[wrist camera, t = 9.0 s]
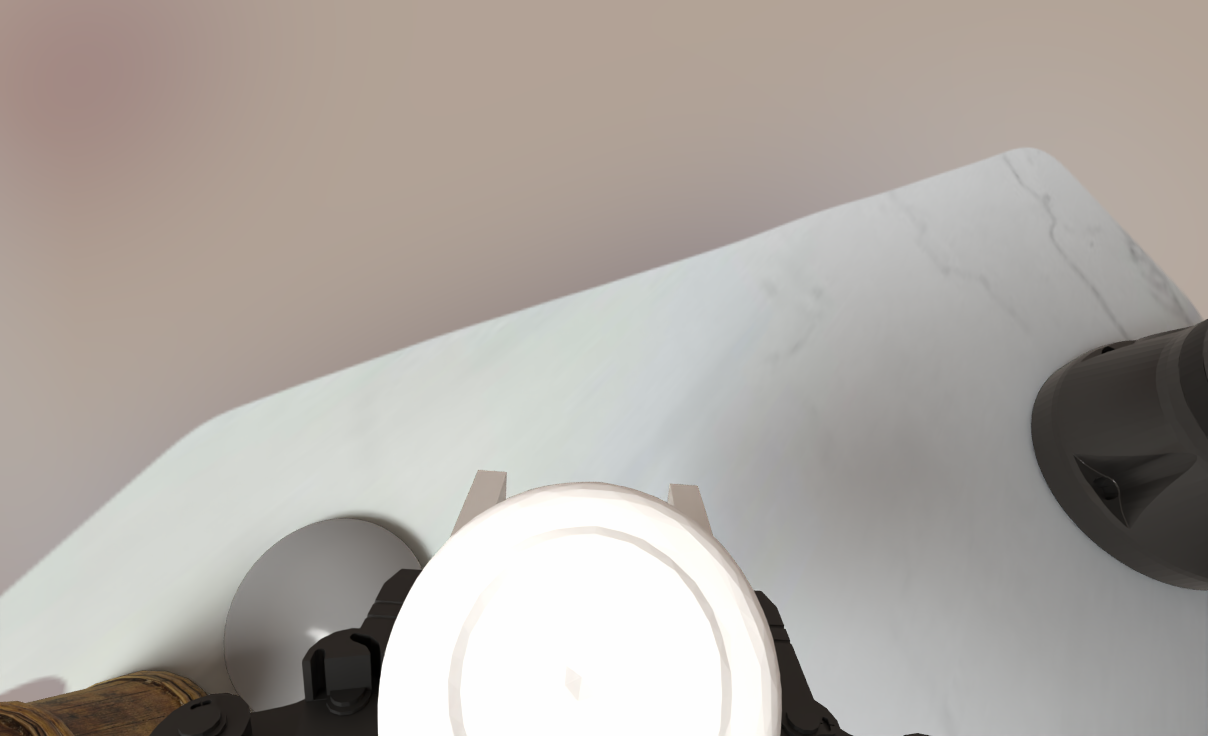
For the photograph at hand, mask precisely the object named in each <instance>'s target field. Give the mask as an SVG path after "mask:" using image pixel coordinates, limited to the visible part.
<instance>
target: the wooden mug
mask: <svg viewBox="0 0 1208 736" xmlns="http://www.w3.org/2000/svg"><path fill="white" fill-rule="evenodd" d="M204 696H207V694H206V693H205V692H204V691H203V690H202V689H201V688H199V687H198V686H197V685H196V684H194V683H193V682H192V681H191V680H189V679H188V678H185V677H182V676H179V675H176V674H173V673H170V672H167V671H139V672H135V673H132V674H128V675H124V676H120V677H117V678H113V679H110V680H107V681H103V682H100V683H97V684H94V685H92V686H90V687H88V688H86V689H83V690H79V691H74V692H70V693H66V694H62V695H58V696H54V697H49V698H45V699H41V700H37V701H33V702H28V703H23V702H19V701H11V702H0V736H149V735H150V734H151V733H152V731H153V730H154V729H155V728H156V727H157V725H158V724H159V723H161V722H162V721H163V720H164V719H165V718H166V717H167V716H168V715H169V714H170V713H171V712H172V711H174V710H176V709H177V708H179V707H181V706H183V705H184V704H186V703H188V702H189V701H191V700H194V699H198V698H201V697H204Z"/></svg>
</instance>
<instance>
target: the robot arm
mask: <svg viewBox="0 0 1208 736" xmlns="http://www.w3.org/2000/svg"><path fill="white" fill-rule="evenodd" d="M1031 428H1032V440H1033V446H1034V450H1035V454H1036V458H1037V461H1038V464H1039V467H1040V469H1041V472H1042V474H1043V476H1044V478H1045V480H1046V482H1047V484H1048V486H1049V488H1050V490H1051V491H1052V493H1053V495H1054V496H1055V498H1056V499H1057V501H1058V502H1059V504H1060V505H1061V507H1062V508H1063V509H1064V511H1065V512H1066V513H1067V514H1068V516H1069V517H1070V518H1071V519H1072V520H1073V521H1074V523H1075V524H1076V525H1077V526H1078V527H1079V528H1080V529H1081V530H1082V531H1083V532H1084V533H1085V534H1086V535H1087V536H1088V537H1089V538H1090V539H1091V540H1092V541H1094V542H1095V543H1096V544H1097V545H1098V546H1099V547H1101V548H1102V549H1103V550H1104V551H1106V552H1107V553H1109V554H1110V555H1111V556H1113V557H1114V558H1116V559H1117V560H1119V561H1120V562H1122V563H1123V564H1125V565H1127V566H1128V567H1130V568H1132V569H1134V570H1136V571H1138V572H1140V573H1141V574H1144V575H1146V576H1148V577H1150V578H1153V579H1155V580H1158V581H1161V582H1163V583H1167V584H1170V585H1173V586H1178V587H1182V588H1187V589H1194V590H1208V319H1207V320H1205V321H1203V322H1201V323H1199V324H1197V325H1195V326H1191V327H1186V328H1182V329H1177V330H1172V331H1168V332H1163V333H1159V334H1155V335H1151V336H1147V337H1144V338H1141V339H1138V340H1133V341H1123V342H1117V343H1112V344H1108V345H1105V346H1101V347H1099V348H1096V349H1094V350H1091V351H1089V352H1087V353H1085V354H1083V355H1081V356H1080V357H1078V358H1077V359H1075V360H1073V361H1072V362H1070V363H1068V364H1067V365H1065V366H1064V367H1062V368H1060V369H1059V370H1057V371H1056V372H1055V373H1054V374H1053V375H1052V376H1050V377H1049V378H1048V380H1047V381H1046V382H1045V383H1044V385H1043V386H1042V388H1041V389H1040V391H1039V393H1038V395H1037V398H1036V400H1035V404H1034V407H1033V413H1032V422H1031ZM506 478H507V472H498V471H484V470H478V472H477V474H476V476H475V479H474V481H473V484H472V486H471V488H470V491H469V493H468V495H467V498H466V500H465V503H464V505H463V507H462V510H461V512H460V514H459V517H458V519H457V522H456V524H455V526H454V529H453V531H452V534H451V536H452V535H454V534H455V533H456V532H457V531H458V530H459V529H461V528H462V527H463V526H464V525H465V524H467V523H468V522H469V521H471V520H472V519H473V518H474V517H476V516H477V515H479V514H481V513H483V512H484V511H486V510H488V509H489V508H491V507H493V506H494V505H496V504H498V503H500V502H502V501H504V500H505V499H506ZM667 503H669V504H671V505H673V506H674V507H676V508H677V509H679V510H681V511H682V512H684V513H685V514H687V515H688V516H690V517H691V518H693V519H694V520H695V521H696V522H698V523H699V524H700V525H701V526H702V527H704V528H705V529H706V530H707V531H708V532H709V533H710V534H711V535H712V536H713V534H712V531H711V527H710V524H709V521H708V518H707V514H706V511H705V508H704V504H703V501H702V498H701V495H700V491H699V488H698V486H695V485H681V484H670V485H669V493H668V501H667ZM451 536H450V537H451ZM421 572H422V570H416V569H401V570H399V571H398V572H397V573H396V574H394V575H393V576H392V577H391V578H390V579H388V580H387V581H386V582H385V583H384V584H383V586H382V588H381V590H380V592H379V594H378V596H377V597H376V599H375V603H374V604H373V605H372V607H371V609H370V611H369V612H368V614H367V618H365V620H364V622H363V624H362V626H361V627H360V628H350V629H345V630H341V631H336V632H334V633H332V634H330V635H328V636H326V637H324V638H321V639H320V640H319V641H318V642H317V643H315V644H314V645H313V646H312V647H311V648H309V650H308V651H307V653H306V655H305V656H304V658H303V660H302V670H303V681H304V693H305V699H303V700H301V701H299V702H297V703H293V704H290V705H286V706H282V707H278V708H273V709H268V710H263V711H258V712H253V713H250V710H249V705H248V704H247V703H246V702H245V701H244V700H243V699H242V698H241V697H240V696H236V695H232V694H228V693H223V694H210V695H207V696H204V697H201V698H198V699H194V700H191V701H189V702H188V703H186V704H184V705H183V706H181V707H179V708H177V709H176V710H174V711H172V712H171V713H170V714H169V715H168V716H167V717H166V718H165V719H164V720H163V721H162V722H161V723H159V724H158V725H157V727H156V728H155V729H154V730H153V731H152V733H151V734H150V735H149V736H378V697H379V686H380V677H381V670H382V664H383V660H384V656H385V652H386V648H387V644H388V641H389V638H390V635H391V632H392V629H393V626H394V624H395V621H396V619H397V616H398V614H399V612H400V610H401V608H402V606H403V603H404V601H405V599H406V597H407V595H408V593H409V591H410V590H411V588H412V586H413V584H414V583H415V581H416V579H417V578H418V576H419V575H420V573H421ZM754 592H755V594H756V596H757V598H758V601H759V603H760V605H761V607H762V609H763V611H764V614H765V617H766V619H767V622H768V625H769V628H770V631H771V634H772V637H773V641H774V646H775V650H776V655H777V660H778V666H779V671H780V682H781V688H782V717H781V734H780V736H852V735H850V734H848V733H846V732H845V731H843V730H842V729H840V727H839V724H838V722H837V720H836V719H835V718H834V716H833V715H832V714H831V713H830V712H829V711H828V709H827V708H825V707H824V706H822V705H821V704H820V703H818V702H817V701H815V700H814V699H813V696H812V694H811V691H810V689H809V686H808V684H807V681H806V679H805V676H804V674H803V671H802V669H801V666H800V664H799V661H798V659H797V656H796V654H795V651H794V649H793V646H792V644H790V639H789V637H788V634H787V632H786V629H784V624H783V622H782V619H781V617H780V614H779V612H778V609H777V607H776V606H775V605H774V604H773V603H772V602H771V601H770V600H769V599H768V598H767V596H766V595H765V594H764V593H763V592H762V591H754ZM904 736H929V735H924V734H919V733H915V734H908V735H904Z"/></svg>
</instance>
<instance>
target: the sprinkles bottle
mask: <svg viewBox="0 0 1208 736" xmlns="http://www.w3.org/2000/svg"><path fill="white" fill-rule="evenodd" d="M781 717H782V688H781V682H780V671H779V666H778V660H777V655H776V650H775V646H774V641H773V637H772V634H771V631H770V628H769V625H768V622H767V619H766V617H765V614H764V611H763V609H762V607H761V605H760V603H759V601H758V598H757V596H756V594H755V592H754V590H753V589H752V587H751V585H750V584H749V582H748V580H747V579H746V577H745V575H744V574H743V572H742V570H741V569H740V567H739V566H738V565H737V563H736V562H735V561H734V559H733V558H732V557H731V555H730V554H729V553H728V551H727V550H726V549H725V548H724V547H723V546H722V545H721V543H720V542H719V541H718V540H717V539H716V538H715V537H714V536H712V535H711V534H710V533H709V532H708V531H707V530H706V529H705V528H704V527H702V526H701V525H700V524H699V523H698V522H696V521H695V520H694V519H693V518H691V517H690V516H688V515H687V514H685V513H684V512H682V511H681V510H679V509H677V508H676V507H674V506H673V505H671V504H669V503H667V502H665V501H663V500H661V499H659V498H657V497H655V496H652V495H649V494H646V493H643V492H641V491H638V490H635V489H631V488H627V487H623V486H618V485H613V484H608V483H603V482H576V483H563V484H555V485H548V486H543V487H539V488H535V489H531V490H528V491H526V492H523V493H520V494H517V495H515V496H512V497H509V498H507V499H505V500H504V501H502V502H500V503H498V504H496V505H494V506H493V507H491V508H489V509H488V510H486V511H484V512H483V513H481V514H479V515H477V516H476V517H474V518H473V519H472V520H471V521H469V522H468V523H467V524H465V525H464V526H463V527H462V528H461V529H459V530H458V531H457V532H456V533H455V534H454V535H452V536H451V537H450V538H449V539H448V541H447V542H446V543H445V544H444V545H443V546H442V547H441V548H440V550H439V551H438V552H437V553H436V554H435V555H434V556H433V557H432V559H431V560H430V561H429V562H428V563H427V565H426V566H425V568H424V569H423V570H422V572H421V573H420V575H419V576H418V578H417V579H416V581H415V583H414V584H413V586H412V588H411V590H410V591H409V593H408V595H407V597H406V599H405V601H404V603H403V606H402V608H401V610H400V612H399V614H398V616H397V619H396V621H395V624H394V626H393V629H392V632H391V635H390V638H389V641H388V644H387V648H386V652H385V656H384V660H383V664H382V670H381V677H380V686H379V697H378V736H780V734H781Z"/></svg>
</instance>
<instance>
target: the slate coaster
mask: <svg viewBox="0 0 1208 736" xmlns="http://www.w3.org/2000/svg"><path fill="white" fill-rule="evenodd" d="M401 569H416V570H423V569H422V567H421V565H420V563H419V561H418V559H417V558H416V556H415V555H414V554H413V552H412V551H411V549H410V548H409V547H408V546H407V545H406V544H405V543H404V542H403V541H402V540H400V539H399V538H398V537H397V536H395V535H394V534H393V533H392V532H390V531H388V530H386V529H385V528H383V527H381V526H379V525H376V524H374V523H371V522H367V521H363V520H358V519H332V520H325V521H321V522H317V523H314V524H310V525H308V526H305V527H303V528H301V529H298V530H296V531H295V532H293V533H291V534H289V535H287V536H286V537H284V538H283V539H281V540H280V541H278V542H277V543H276V544H274V545H273V546H272V547H271V548H270V549H269V550H267V551H266V552H265V553H264V554H263V555H262V556H261V557H260V558H259V559H258V560H257V562H256V563H255V564H254V565H253V566H252V568H251V569H250V570H249V572H248V573H247V574H246V576H245V577H244V579H243V581H242V582H241V584H240V586H239V587H238V590H237V592H236V594H235V596H234V598H233V600H232V603H231V606H230V609H229V612H228V616H227V620H226V625H225V633H224V656H225V662H226V667H227V671H228V674H229V677H230V680H231V682H232V684H233V686H234V688H235V690H236V692H237V693H238V694H239V696H240V697H241V698H242V699H243V700H244V701H245V702H246V703H247V704H248V705H249V707H250V708H251V709H252V710H253V711H254V712H258V711H263V710H268V709H273V708H278V707H282V706H286V705H290V704H293V703H297V702H299V701H301V700H303V699H305V693H304V681H303V670H302V660H303V658H304V656H305V655H306V653H307V651H308V650H309V648H311V647H312V646H313V645H314V644H315V643H317V642H318V641H319V640H320V639H321V638H324V637H326V636H328V635H330V634H332V633H334V632H336V631H341V630H345V629H350V628H360V627H361V626H362V624H363V622H364V620H365V618H367V614H368V612H369V611H370V609H371V607H372V605H373V604H374V603H375V599H376V597H377V596H378V594H379V592H380V590H381V588H382V586H383V584H384V583H385V582H386V581H387V580H388V579H390V578H391V577H392V576H393V575H394V574H396V573H397V572H398V571H399V570H401Z"/></svg>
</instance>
